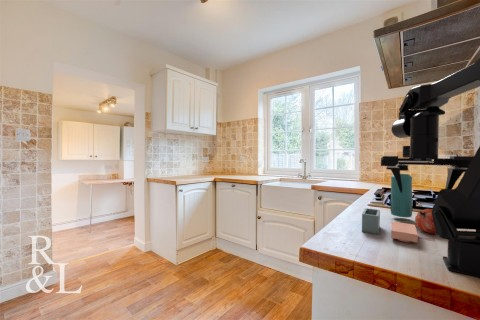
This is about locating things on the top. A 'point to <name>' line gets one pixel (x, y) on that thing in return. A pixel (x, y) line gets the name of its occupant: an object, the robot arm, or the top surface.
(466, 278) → the top surface
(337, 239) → the top surface
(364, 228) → the box
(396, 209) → the beverage bottle
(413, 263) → the top surface
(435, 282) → the top surface
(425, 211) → the pomegranate
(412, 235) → the lid
